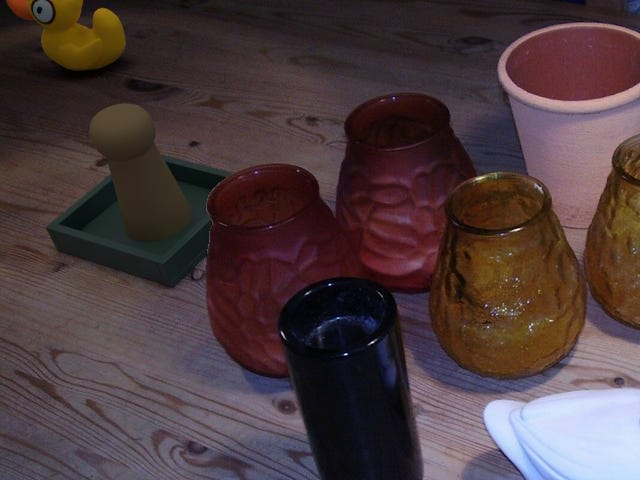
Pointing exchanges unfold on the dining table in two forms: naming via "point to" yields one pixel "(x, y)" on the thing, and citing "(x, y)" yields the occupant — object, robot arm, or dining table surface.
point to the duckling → (74, 33)
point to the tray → (130, 254)
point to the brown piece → (139, 173)
